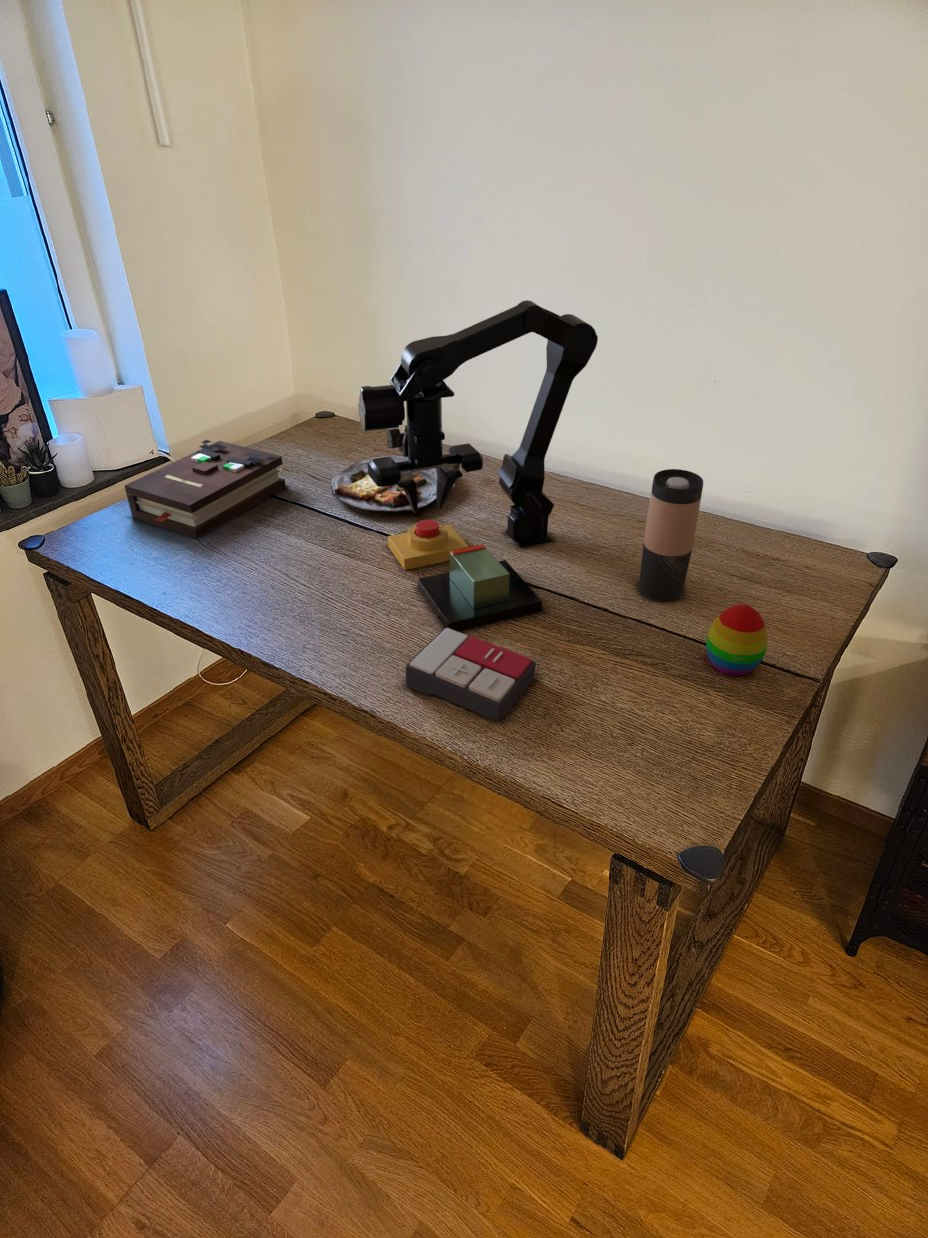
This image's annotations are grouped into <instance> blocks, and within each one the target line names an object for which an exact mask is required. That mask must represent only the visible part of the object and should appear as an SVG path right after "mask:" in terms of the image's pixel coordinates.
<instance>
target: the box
mask: <svg viewBox="0 0 928 1238" xmlns="http://www.w3.org/2000/svg"><path fill="white" fill-rule="evenodd" d="M498 561H499V560H498V559H497V558H496V557H495V556H494V555H493V553H491V551H490V550H489V549H488V548H487V547H486V545H485V544H483V543H482V544H478V545H472V546H469V547H467V548H462V549H457V550H452V551H451V552H450V561H449V572H450V579H451V580H452V581H453V583H454V584H455V585H456V587H457V588H458V589H459V590H460V592H461V593H462V594H463V596H464V597H465V598H466V599H467V601H468V602H469V603H470V605H471V606H472V607H473V608H474V609H476V608H480V607H484V606H488V605H493V604H497V603H501V602H506V601H509V573H508V572H507V570H506V569H505V568H504V567H503V566H502V565H501V564H500V563H499V562H498Z"/></svg>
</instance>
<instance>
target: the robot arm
mask: <svg viewBox="0 0 928 1238" xmlns="http://www.w3.org/2000/svg"><path fill="white" fill-rule="evenodd" d="M530 333H534V334H536V335H537V336H540V337H543V338H544V339H546V340H547V341H546V342H547V343H546V348H545V350H546V352H545V353H546V368H545V373H544V375H543V379H542V382H541V385H540V387H539V390H538V393H537V396H536V398H535V402H534V405H533V407H532V410H531V413H530V416H529V419H528V422H527V425H526V428H525V430H524V434H523V436H522V439H521V442H520V445H519V447H518V449H517V450H516V451H515V452H514V453H513V454H512V455H510V454H507V453H505V454H504V455H503V458H502V464H501V466H500V468H499V470H498V471H497V475H498V477H499V480H498V483H499V485H500V488H501V490H502V491H503V492H504V494H505V495H506V496H507V498H508V499H509V500H510V501H511V502H512V504H511V505H510V510H509V511H510V512H509V514H508V515H507V529H505V533H506V534H507V535H508V536H509V538H511V540H512V541H513V542H514V543H516V545H517V546H518V547H520V548H524V547H528V546H533V545H538V544H543V543H548V542H551V541H552V537H551V535H549V534H548V530H549V528H548V527H549V516H550V515H551V514H552V512H553V509H554V506H555V504H554V502H553V501H552V500H551V499H550V497H548V495H546V493H545V492H544V491H543V489H544V485H545V479H546V476H545V475H546V473H545V471H546V469H545V459H546V455H547V453H548V450H549V447H550V444H551V442H552V440H553V436H554V433H555V431H556V428H557V425H558V423H559V419H560V417H561V414H562V411H563V409H564V407H565V403H566V400H567V397H568V396H569V393H570V389H571V387H572V384H573V381H574V380H575V378H576V377H577V376H578V375H579V374H580V373H581V372H582V371H583V370H584V368H586V366H588V363H589V362H590V359H591V358H592V356H593V354H594V352H595V350H596V349H597V345H598V341H599V340H598V339H599V337H598V334H597V332H596V329H595V328H594V327H593V326H592V325H591V324H589V323H588V322H586V321H584V320H582V318H579V317H578V316H576V315H574V314H573V313H566V314H562V315H559V314H557V313H555V312H553V311H551V310H549V309H546V308H544V307H542V306H540V305H538V304H537V303H535V302H534V301H532V300H529V299H528V300H527V299H526V300H522V301H520V302H519V303H517V305H515V306H513V307H510V308H508V309H505V310H504V311H502V312H499V313H497V314H495V315H493V316H490V317H488V318H486V319H484V320H481V321H479V322H477V323H475V324H472V325H470V326H468V327H465V328H464V329H461V330H459V331H456V332H455V333H451V334H446V335H437V336H430V337H425V338H421V339H417V340H413V341H411V342H409V343H408V344H407V345H406V346H405V347H404V348H403V351H402V354H401V359H400V363H399V365H398V366H397V368H396V369H395V370H394V372H393V374H392V375H391V377H390V378H389V384H387V385H377V386H370V385H364V386H363V385H362V386H360V387H359V392H360V394H359V397H358V403H357V409H358V418H359V423H360V427H361V430H362V432H373V431H381V430H386V443H387V447H388V448H389V449H398V452H399V453H402V456H404V457H408V461H403V462H397V463H396V462H395V461H394V460H393V459H392V458H391V457H390V456H391V455H387V456H388V457H385V456H380V457H381V458H377V457H374V458H375V459H373V458H371V460H370V459H369V460H370V461H369V463H368V475H369V476H370V477H371V479H372V480H373V481H374V483H375V484H376V485H377V486H379V487H385V486H390V485H396V484H397V486H398V487H400V488H403V489H404V491H405V494H406V496H407V498H408V501H409V503H410V506H411V508H412V510H411V511H412V512H413V514H414V515H415V514H418V505H417V486H416V482H415V481H414V480H413V479H412V472H416V471H421V470H427V469H433V468H436V472H437V495H436V500H435V501H436V508H437V509H438V510H442V508H443V506H444V505H445V502H446V501H447V498H448V496H449V494H450V492H451V490H452V489H453V488H454V487H453V485H454V484H455V485H456V482H457V481H458V479H460V478H463V475H464V474H463V472H462V471H461V469H462V470H464V471H465V472H466V473H470V472H471V473H472V472H477V471H481V470H482V469H483V468H484V465H483V464H484V461H483V460H484V458H483V454H481V453H480V451H478V450H477V449H476V448H475V447H474V446H472V444H471V443H461V444H456V445H455V444H454V445H450V446H449V448H448V452H447V453H443V441H445V440H446V434H445V432H443V405H442V403H443V402H442V399H443V398H452V397H454V396H455V392H454V391H453V390H452V388H451V387H450V386H449V385H447V384H446V382H445V380H447V378H449V377H450V376H452V375H454V373H455V372H456V371H457V370H458V369H459V367H460V366H461V365H464V364H465V363H466V362H468V361H470V360H472V359H474V358H477V357H478V356H481V355H483V354H485V353H487V352H490V351H492V350H494V349H497V348H499V347H501V346H503V345H506V344H508V343H510V342H512V341H514V340H516V339H519V338H521V337H523V336H526V335H528V334H530ZM405 419H406V425H404V432H401V431H400V426H402V425H403V423H404V421H405ZM460 466H461V469H460ZM455 485H454V486H455ZM452 487H453V488H452Z"/></svg>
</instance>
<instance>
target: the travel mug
mask: <svg viewBox="0 0 928 1238" xmlns="http://www.w3.org/2000/svg"><path fill="white" fill-rule="evenodd" d="M703 489H704V478H703V477H702V476H700V475H699V474H697V473H696V472H693V471H690V470H685V469H681V468H680V469H679V468H668V469H662V470H659V471H657V472H656V473H655V474H654V475H653V479H652V484H651V492H650V498H649V504H648V510H647V516H646V525H645V530H644V536H643V545H642V552H641V563H640V570H639V571H640V572H639V580H638V581H639V582H638V590H639V592H640V594H642V595H643V596H644V597H645V598H647V599H649V600H652V601H655V602H661V603H662V602H665V603H666V602H673V601H676V600H678V599H680V598H681V596H682V595H683V592H684V588H685V583H686V580H687V574H688V570H689V566H690V561H691V557H692V552H693V546H694V541H695V536H696V530H697V524H698V518H699V512H700V507H701V502H702V501H701V500H702V495H703Z"/></svg>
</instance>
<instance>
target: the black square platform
mask: <svg viewBox="0 0 928 1238" xmlns="http://www.w3.org/2000/svg"><path fill="white" fill-rule="evenodd" d="M498 562H499V563H500V564H501V565H502V566H503V567H504V568H505V569H506V570H507V572H508V573H509V601H506V602H501V603H497V604H493V605H488V606H484V607H480V608H476V609H474V608H473V607H472V606H471V605H470V603H469V602H468V601H467V599H466V598H465V597H464V596H463V594H462V593H461V592H460V590H459V589H458V588H457V587H456V585H455V584H454V583H453V581H452V580H451V579H450V571H447V572H443V573H437V574H433V575H428V576H424V577H419V578H418V577H417V580H416V581H417V584H416V585H417V591H419V593H420V595H421V596H422V597H423V599H424V600H425V601H426V603H427V605H428V606H429V608H430V609H431V611H432V612H433V613H434V615H435V617H436V618H437V619H438V620H439V622H440V623H441V625H442V626H443V627H444V628H449V629H452V630H455V631H457V632H461V631H465V630H470V629H475V628H478V627H483V626H487V625H491V624H495V623H500V622H503V621H507V620H511V619H512V620H513V619H516V618H520V617H524V616H529V615H532V614H537V613H540V612H541V613H542V611H543V600H542V599H541V597H540V596H539V595H538V594H537V593H536V592H535V591H534V590H533V589H532V588H531V587H530V586H529V584H528V583H527V582H526V581H525V580H524V578H522V577H521V575H519V573H518V572H517V571H516V570H515V569H514V568H513V567H512V566H511V564H509V562H508V561H507V560H506V559H503V560H498Z"/></svg>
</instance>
